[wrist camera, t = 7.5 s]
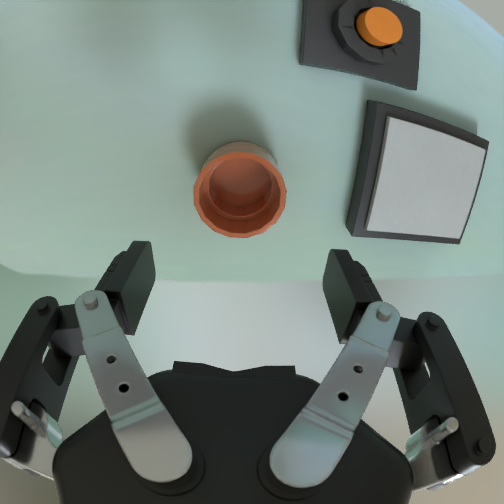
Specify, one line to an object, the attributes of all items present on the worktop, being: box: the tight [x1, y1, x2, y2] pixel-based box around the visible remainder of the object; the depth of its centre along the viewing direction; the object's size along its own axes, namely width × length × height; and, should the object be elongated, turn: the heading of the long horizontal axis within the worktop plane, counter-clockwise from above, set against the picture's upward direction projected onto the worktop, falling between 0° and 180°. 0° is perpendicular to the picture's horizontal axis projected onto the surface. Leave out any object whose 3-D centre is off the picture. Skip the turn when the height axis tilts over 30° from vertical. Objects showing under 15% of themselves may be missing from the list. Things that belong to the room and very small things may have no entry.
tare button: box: [356, 7, 403, 46], centre depth 13 cm, size 3×3×2 cm
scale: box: [346, 100, 489, 244], centre depth 22 cm, size 14×12×3 cm
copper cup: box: [194, 142, 287, 238], centre depth 21 cm, size 6×6×5 cm
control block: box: [299, 0, 420, 90], centre depth 15 cm, size 10×8×3 cm
